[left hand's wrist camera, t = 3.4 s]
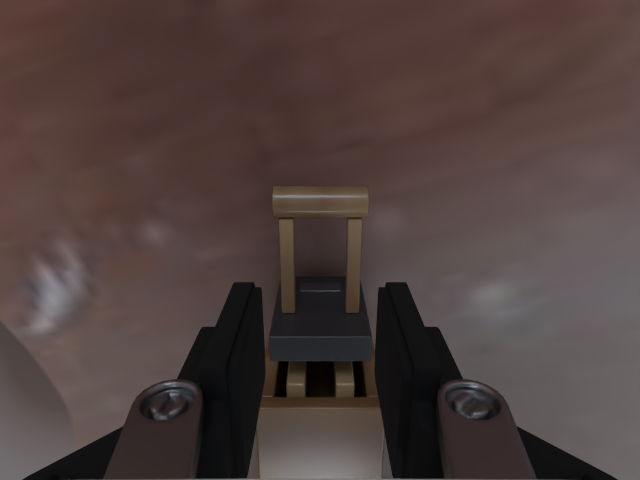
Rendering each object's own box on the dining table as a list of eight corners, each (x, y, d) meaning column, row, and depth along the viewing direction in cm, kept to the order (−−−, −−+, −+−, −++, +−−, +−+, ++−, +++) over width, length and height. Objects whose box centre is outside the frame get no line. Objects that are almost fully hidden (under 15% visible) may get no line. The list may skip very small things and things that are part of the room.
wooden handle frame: (277, 169, 21) (262, 200, 16) (363, 168, 21) (378, 200, 16) (287, 485, 28) (280, 581, 23) (352, 485, 28) (360, 582, 23)
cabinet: (272, 315, 25) (254, 408, 18) (367, 315, 25) (386, 408, 18) (281, 516, 30) (269, 648, 23) (359, 516, 30) (371, 647, 23)
